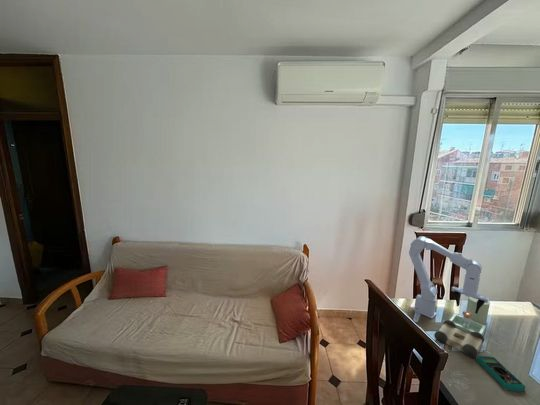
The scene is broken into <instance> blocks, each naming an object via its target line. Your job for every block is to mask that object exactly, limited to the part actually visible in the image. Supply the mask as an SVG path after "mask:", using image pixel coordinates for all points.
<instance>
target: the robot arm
mask: <svg viewBox="0 0 540 405" xmlns="http://www.w3.org/2000/svg"><path fill="white" fill-rule="evenodd" d="M424 249H425V251H432V250H433V251H435V252H436V253H438V254H440V255H442V256H444V257H446V258H448V259H449V261H450V262H451V263H453V264H454V265H456V266H458V267H460V268H462V269H463V270H465V275H464V279H463V280H464V281H463V286H462V288H460V287H456V286H451V292H453V294H452V295H453V296H454V299H455V304H456V307H459V306H460V305H461V303H460V302H461V298H462V297H461V296H462V295H464V296H465V297H467V298H468V297H472V298H475V299H478V301H477V307H476V311H475V313H476V314H477V313H478V311H479V309H480V307H481V306H482V305H483V304H484V303H488V301H489V297H486V296H483V295H481V294H479V293H478V291H479V286H480V279H481V278H480V277H481V273H482V269H483V267H482V264H481V263H480V262H479V261H478V260H474V259H472V258H468V257H467V256H464V255H463V253H462V252H452V251H450V250H448V249H447V248H446V247H444V246H442V245H440V244H438V243H437V242H435V241H434V240H432V239H431V238H428V237H426V236H424V235H420V236H417V238H416V239H414V240H413V241H412V242H411V243H410V247H409V250H408V254H409V257H410V259H411V262H412V265H413V268H414V270H415V274H416V275H417V278H418V280H419V285H420V287H419V288H420V294H417V295H416V297H415V302H414V309H413V311H414V312H416V313H418V314H419V315H423V316H426V317H428V318H430V319H434V317H435V316H436V315H437V314H438V313H437V312H436V305H437V298H436V295H437V294H438V288H437V287H436V286H435V284H434V283H433V281H431V279H430V277H429V274H428V272H427V269H426V266H425V264H424V261H423V259H422V256H421V252H422V251H423V250H424Z"/></svg>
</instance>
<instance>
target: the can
mask: <svg viewBox="0 0 540 405" xmlns="http://www.w3.org/2000/svg"><path fill="white" fill-rule="evenodd" d="M477 301H478V299H475V298H472V297H468V296H467V303H466V312H469V313H471V314H473V318H471V320H472V321H475V322H477V323H480V324H482V325H487V323H488V322H487V321H488V316H489V309H490V304H491V302H490V301H489V300H488V303H484V304H483V305H482V306H481V307H480V309H479V311H478V313H477V314H476V313H475V311H476V307H477Z"/></svg>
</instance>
